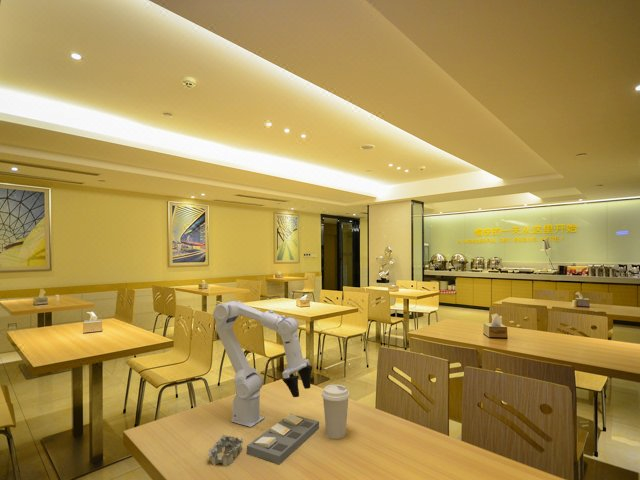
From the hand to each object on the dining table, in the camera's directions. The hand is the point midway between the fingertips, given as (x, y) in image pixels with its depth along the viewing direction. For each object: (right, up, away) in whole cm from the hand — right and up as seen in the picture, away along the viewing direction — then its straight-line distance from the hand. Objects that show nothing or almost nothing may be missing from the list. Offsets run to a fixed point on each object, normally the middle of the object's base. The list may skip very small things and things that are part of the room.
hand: (301, 392), depth 121 cm
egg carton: (-22, -13, -15) cm, 30 cm away
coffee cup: (+12, -13, -3) cm, 18 cm away
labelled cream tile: (-3, -10, +1) cm, 11 cm away
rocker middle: (-7, -10, -6) cm, 13 cm away
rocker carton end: (-11, -10, -13) cm, 19 cm away
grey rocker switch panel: (-5, -13, -7) cm, 15 cm away
